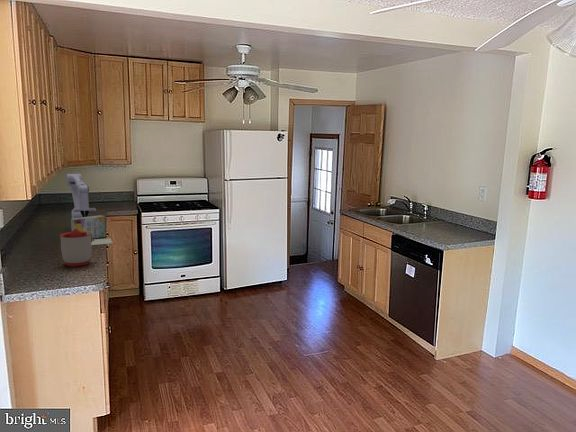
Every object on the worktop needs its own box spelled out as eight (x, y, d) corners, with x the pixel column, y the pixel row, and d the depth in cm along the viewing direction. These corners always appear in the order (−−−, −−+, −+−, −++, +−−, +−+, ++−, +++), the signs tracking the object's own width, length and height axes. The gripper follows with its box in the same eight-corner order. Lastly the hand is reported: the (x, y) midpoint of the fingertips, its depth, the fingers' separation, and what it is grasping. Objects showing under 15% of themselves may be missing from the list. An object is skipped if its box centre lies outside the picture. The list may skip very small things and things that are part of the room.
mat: (68, 241, 299) (68, 241, 299) (110, 238, 311) (110, 238, 311) (69, 247, 285) (69, 246, 285) (113, 243, 297) (113, 243, 297)
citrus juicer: (101, 263, 249) (99, 228, 246) (68, 269, 237) (66, 232, 233) (88, 258, 260) (86, 224, 256) (56, 264, 247) (54, 228, 244)
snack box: (101, 236, 318) (100, 215, 316) (105, 237, 315) (104, 215, 313) (71, 240, 302) (70, 218, 300) (75, 241, 299) (74, 219, 296)
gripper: (72, 203, 306) (73, 223, 308) (95, 202, 313) (96, 221, 315) (72, 202, 313) (73, 221, 315) (94, 201, 319) (95, 220, 321)
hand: (85, 221), depth 315 cm, fingers closed
